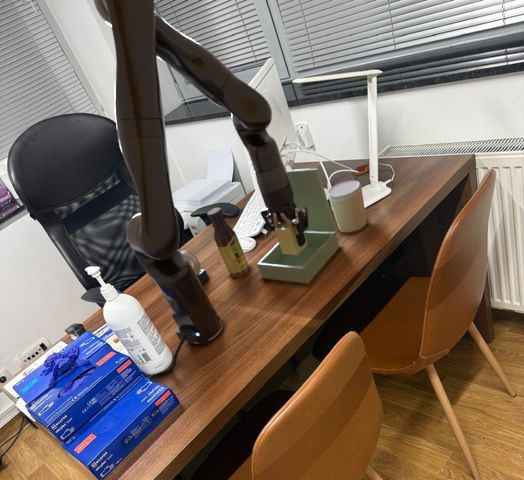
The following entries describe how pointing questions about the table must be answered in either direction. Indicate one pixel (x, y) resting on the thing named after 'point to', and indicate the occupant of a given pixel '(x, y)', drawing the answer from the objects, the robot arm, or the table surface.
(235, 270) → the sauce bottle
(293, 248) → the block
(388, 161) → the table surface
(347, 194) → the coffee cup
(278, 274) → the box
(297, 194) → the lid
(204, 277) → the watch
